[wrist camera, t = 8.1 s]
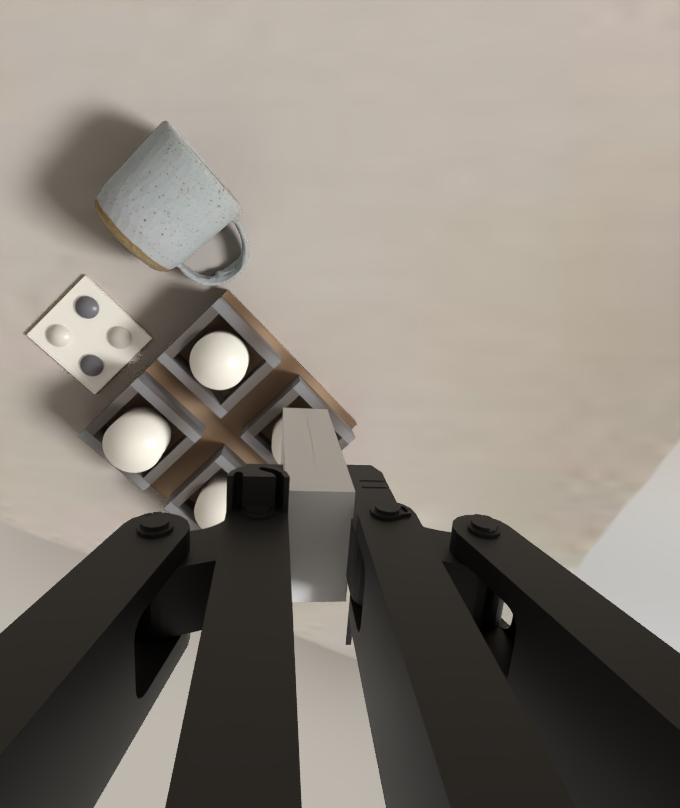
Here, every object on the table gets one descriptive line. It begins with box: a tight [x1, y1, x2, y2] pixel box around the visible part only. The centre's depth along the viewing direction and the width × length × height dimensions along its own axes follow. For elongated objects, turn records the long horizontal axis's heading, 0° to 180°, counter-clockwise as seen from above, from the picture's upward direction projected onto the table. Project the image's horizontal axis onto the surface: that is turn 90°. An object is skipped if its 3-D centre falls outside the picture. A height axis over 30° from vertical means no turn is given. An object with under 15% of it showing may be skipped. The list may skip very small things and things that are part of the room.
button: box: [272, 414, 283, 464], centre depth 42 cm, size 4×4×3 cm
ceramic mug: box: [95, 121, 249, 286], centre depth 38 cm, size 11×8×8 cm
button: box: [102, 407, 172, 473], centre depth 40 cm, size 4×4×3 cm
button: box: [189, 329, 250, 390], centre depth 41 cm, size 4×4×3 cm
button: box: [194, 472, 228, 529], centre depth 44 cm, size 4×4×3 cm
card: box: [27, 275, 152, 395], centre depth 42 cm, size 7×7×1 cm
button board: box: [78, 290, 357, 531], centre depth 44 cm, size 16×17×4 cm
